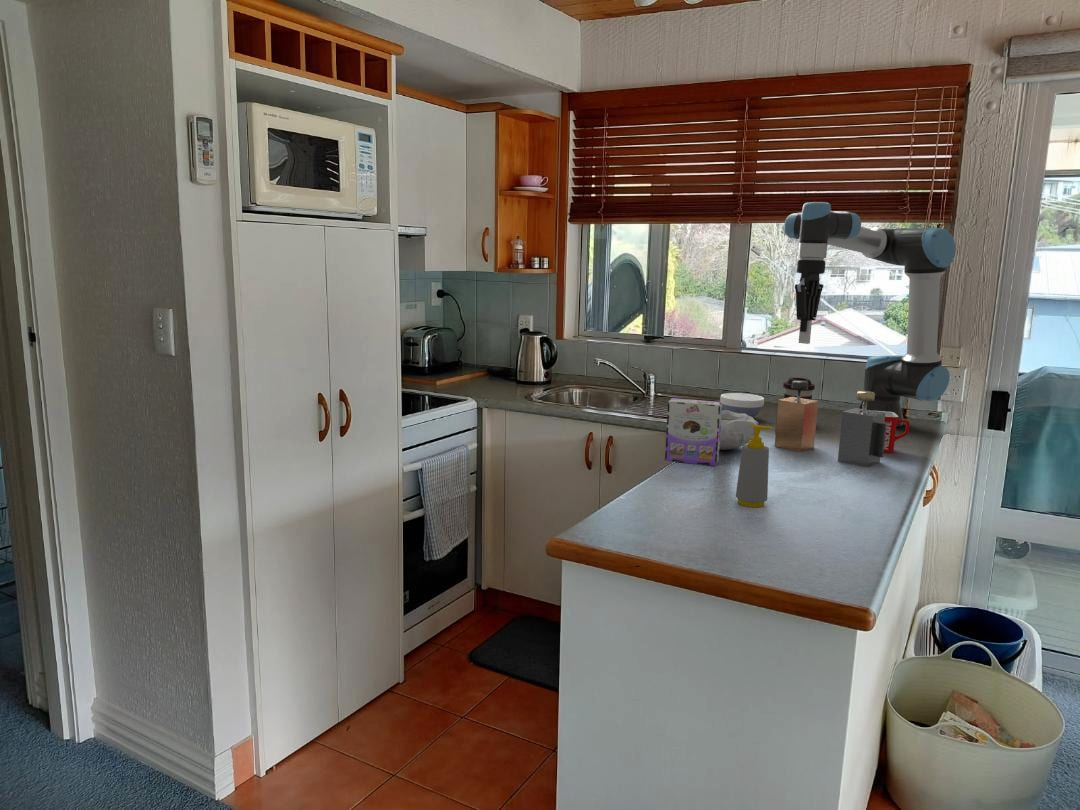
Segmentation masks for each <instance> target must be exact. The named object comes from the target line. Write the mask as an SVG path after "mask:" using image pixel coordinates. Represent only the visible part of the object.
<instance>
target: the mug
mask: <svg viewBox="0 0 1080 810" xmlns="http://www.w3.org/2000/svg"><path fill="white" fill-rule="evenodd" d="M878 412H884V413H885V421H884V424H887V425H886V434H885V443H884V452H883V454H884V453H885V454H893V453H894V451H895V442H896V441H898V440H899V439H901V438H903V437H905V436H907V435H908V434H909V431H910V424H911V423H910V421H909V420H908V419H903V420H902V419H898V415H896V414H895V413H893V412H886V411H878ZM901 422H903V423H905V429H904V432H903V433H900V434H899V435H897V434H896V432H897V427H896V426H897V424H898V423H901Z"/></svg>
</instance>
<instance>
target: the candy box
mask: <svg viewBox="0 0 1080 810" xmlns="http://www.w3.org/2000/svg"><path fill="white" fill-rule="evenodd" d="M722 411H723V407H722V402H720V401H715V400H714V401H712V400H700V399H689V398H677V397H676V398H675V397H672V398H670V399H669V400H668V401H667V414H666V432H665V433H666V434H665V452H664V461H665V462H672V463H673V462H674V463H684V464H693V465H705V466H714V467H715V466H716V467H717V465H718V463H719V458H720V449H719V447H720V433H721V414H722Z"/></svg>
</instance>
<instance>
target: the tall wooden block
mask: <svg viewBox="0 0 1080 810" xmlns="http://www.w3.org/2000/svg"><path fill="white" fill-rule="evenodd" d="M777 401H778V402H777V409H776V421H775V430H774V436H775V437H774V447H776V448H777V447H778V448H781V449H787V450H791V451H795V452H804V451H807V450H810V449H812V448H815V440H816V430H817V429H816V428H817V421H818V420H817V419H818V409H819V400H817V399H816V400H815V399H812V400H810V399H803V398H800V401H797V397H789V398H784V397H783V398H782V399H781V398H780V399H778V400H777Z"/></svg>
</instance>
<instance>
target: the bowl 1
mask: <svg viewBox="0 0 1080 810" xmlns="http://www.w3.org/2000/svg"><path fill="white" fill-rule="evenodd" d="M719 402H722V410H723V411H724V410H729V411H732V412H735V413H738V414H747V415H748V416H751V417H752V418H753V419H754V420H755V418H756V416H758V415H759V413H760V411H761V410H762V408H763V407H764V404H765V398H764V396H761V395H757V394H753V393H744V392H743V393H740V392H726V393H722V394H721V395H720V398H719Z"/></svg>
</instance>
